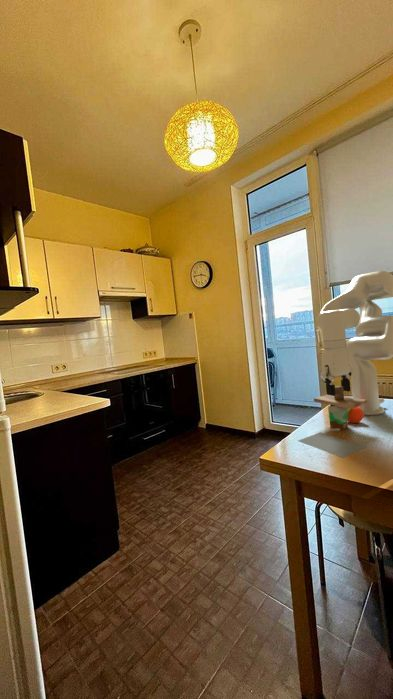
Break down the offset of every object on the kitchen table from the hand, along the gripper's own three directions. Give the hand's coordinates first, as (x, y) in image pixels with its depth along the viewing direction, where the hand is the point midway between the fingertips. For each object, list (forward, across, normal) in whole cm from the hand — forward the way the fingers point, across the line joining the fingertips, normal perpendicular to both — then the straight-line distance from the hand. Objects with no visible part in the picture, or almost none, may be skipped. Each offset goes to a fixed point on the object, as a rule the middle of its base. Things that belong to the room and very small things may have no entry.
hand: (338, 392), depth 105 cm
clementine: (+14, -8, -1) cm, 16 cm away
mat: (+14, +15, +7) cm, 21 cm away
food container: (+14, 0, 0) cm, 14 cm away
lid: (+4, 0, 0) cm, 4 cm away
